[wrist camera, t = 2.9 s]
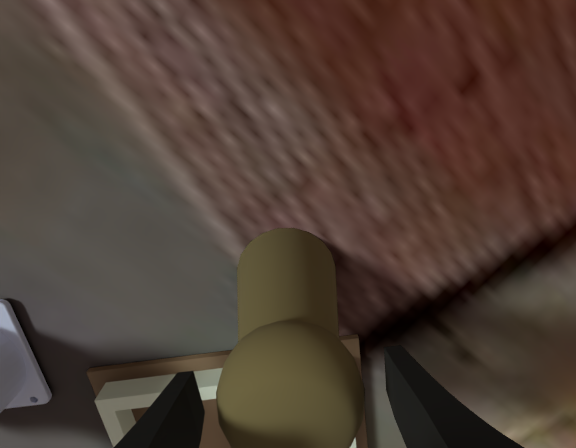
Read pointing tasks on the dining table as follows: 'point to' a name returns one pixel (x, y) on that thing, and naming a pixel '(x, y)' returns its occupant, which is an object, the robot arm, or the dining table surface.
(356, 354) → the board
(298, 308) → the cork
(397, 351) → the robot arm
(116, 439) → the walled square frame
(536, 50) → the dining table surface
